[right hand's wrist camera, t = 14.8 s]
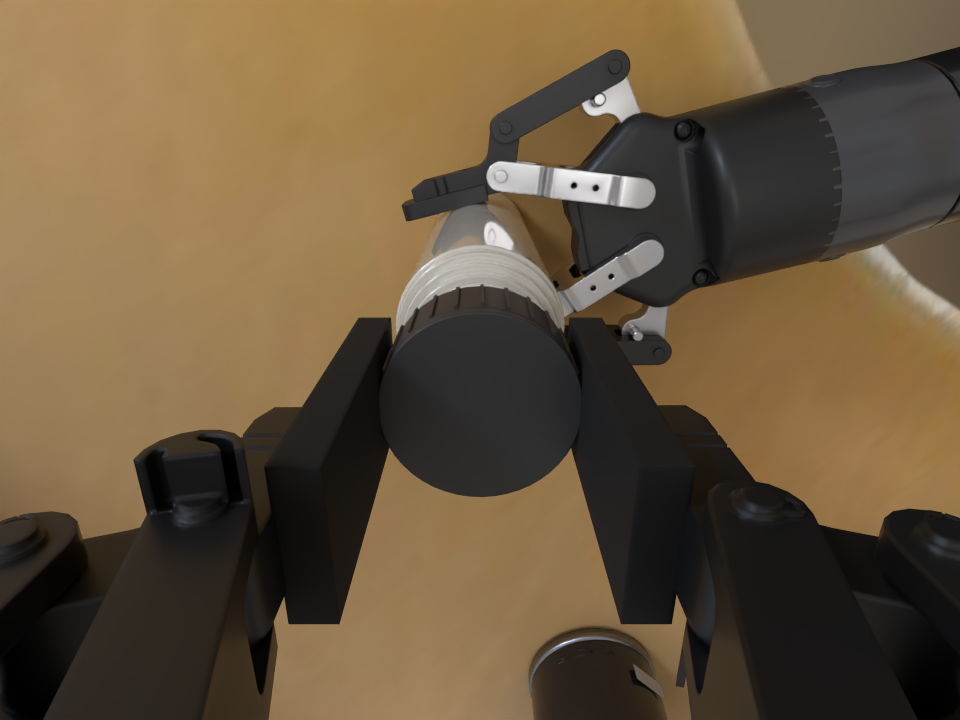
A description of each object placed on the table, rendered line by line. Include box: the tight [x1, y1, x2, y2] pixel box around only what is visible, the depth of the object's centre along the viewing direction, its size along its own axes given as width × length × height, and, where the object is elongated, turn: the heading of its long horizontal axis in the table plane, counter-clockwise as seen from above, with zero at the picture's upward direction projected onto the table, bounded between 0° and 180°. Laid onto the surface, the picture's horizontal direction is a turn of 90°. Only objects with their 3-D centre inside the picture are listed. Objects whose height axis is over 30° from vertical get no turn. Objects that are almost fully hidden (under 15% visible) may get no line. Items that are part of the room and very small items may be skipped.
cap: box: [379, 284, 582, 497], centre depth 13 cm, size 4×4×2 cm
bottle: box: [396, 192, 565, 335], centre depth 23 cm, size 5×5×22 cm
